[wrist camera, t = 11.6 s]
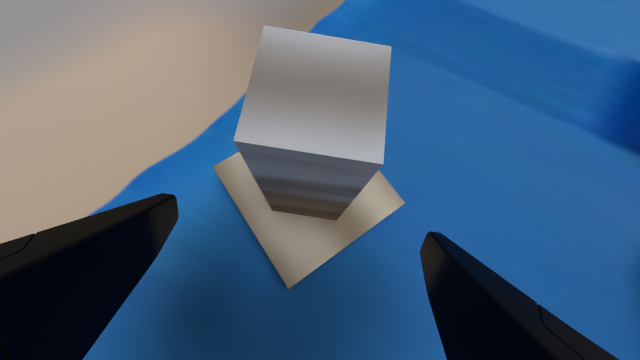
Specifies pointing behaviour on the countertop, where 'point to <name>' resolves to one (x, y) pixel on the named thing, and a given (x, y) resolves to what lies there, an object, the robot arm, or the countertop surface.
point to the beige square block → (304, 221)
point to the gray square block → (314, 120)
